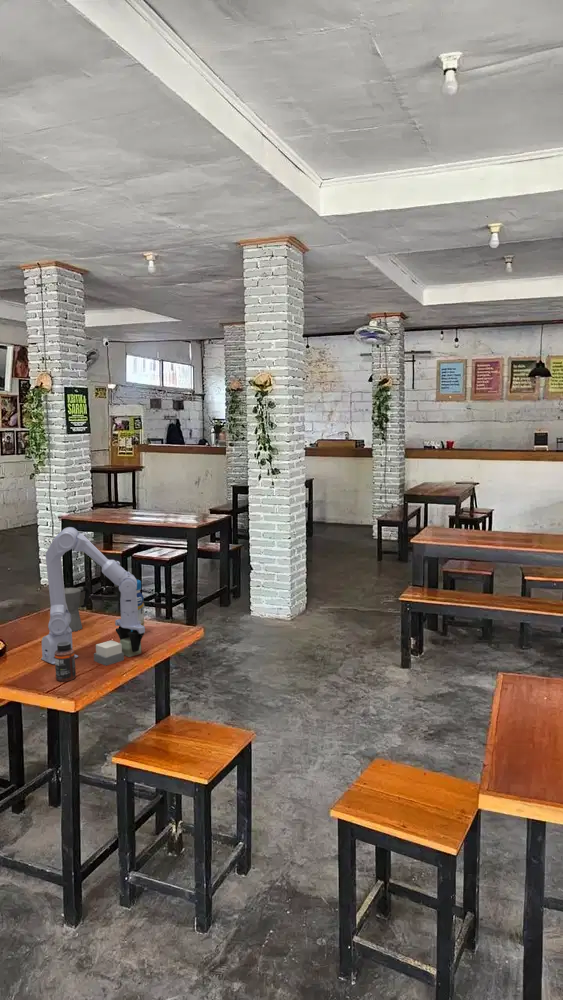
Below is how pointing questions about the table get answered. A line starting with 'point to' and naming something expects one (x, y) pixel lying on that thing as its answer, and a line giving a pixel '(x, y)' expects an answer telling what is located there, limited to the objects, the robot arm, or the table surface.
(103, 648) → the tower top
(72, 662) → the supplement bottle
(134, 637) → the robot arm
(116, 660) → the tower base
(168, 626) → the table surface
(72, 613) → the coffeepot
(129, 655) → the sage block
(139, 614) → the beverage bottle
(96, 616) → the table surface
